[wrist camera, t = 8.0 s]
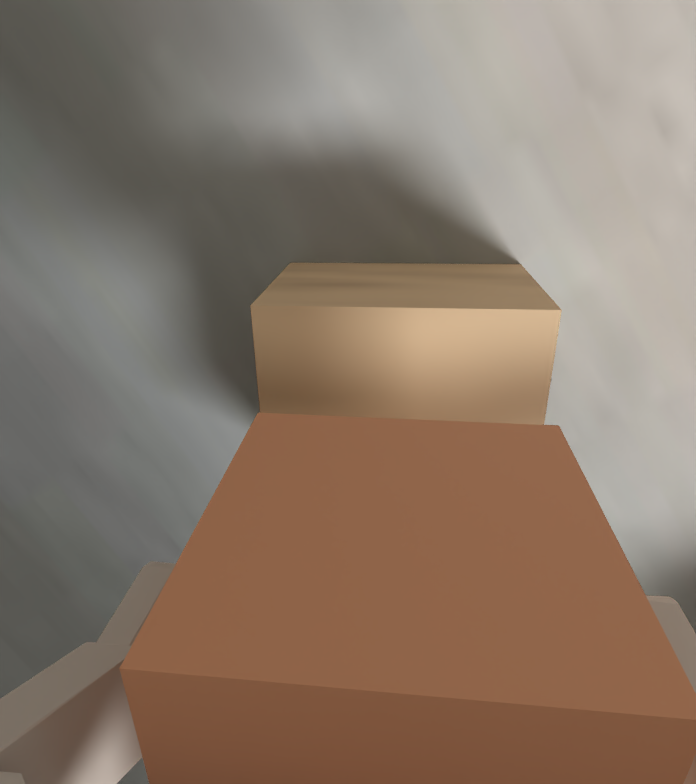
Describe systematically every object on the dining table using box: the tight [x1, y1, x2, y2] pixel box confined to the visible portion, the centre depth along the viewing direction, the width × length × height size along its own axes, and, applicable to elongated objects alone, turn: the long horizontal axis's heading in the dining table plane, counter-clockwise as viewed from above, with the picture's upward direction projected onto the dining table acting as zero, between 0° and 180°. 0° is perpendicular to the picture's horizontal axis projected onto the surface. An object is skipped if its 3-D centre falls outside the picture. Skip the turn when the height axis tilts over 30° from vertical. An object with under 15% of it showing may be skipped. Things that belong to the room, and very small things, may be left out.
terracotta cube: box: [119, 413, 696, 784], centre depth 8 cm, size 5×5×5 cm
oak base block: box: [250, 263, 562, 425], centre depth 16 cm, size 7×7×5 cm
